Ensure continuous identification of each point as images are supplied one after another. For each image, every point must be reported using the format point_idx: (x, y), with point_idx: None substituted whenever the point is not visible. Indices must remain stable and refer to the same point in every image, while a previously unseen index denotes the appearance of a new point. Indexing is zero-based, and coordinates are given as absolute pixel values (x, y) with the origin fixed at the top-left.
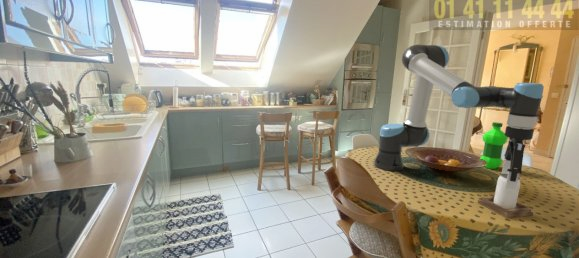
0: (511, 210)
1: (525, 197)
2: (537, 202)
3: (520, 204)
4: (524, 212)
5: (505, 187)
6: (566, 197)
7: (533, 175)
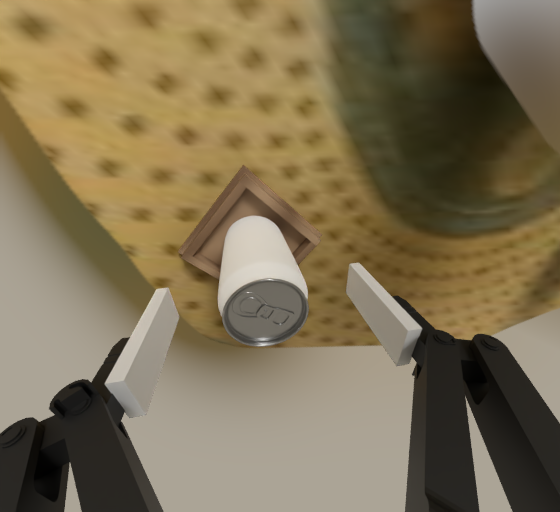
0: (196, 266)
1: (378, 279)
2: None
3: None
4: None
5: (156, 291)
6: None
7: (548, 288)
